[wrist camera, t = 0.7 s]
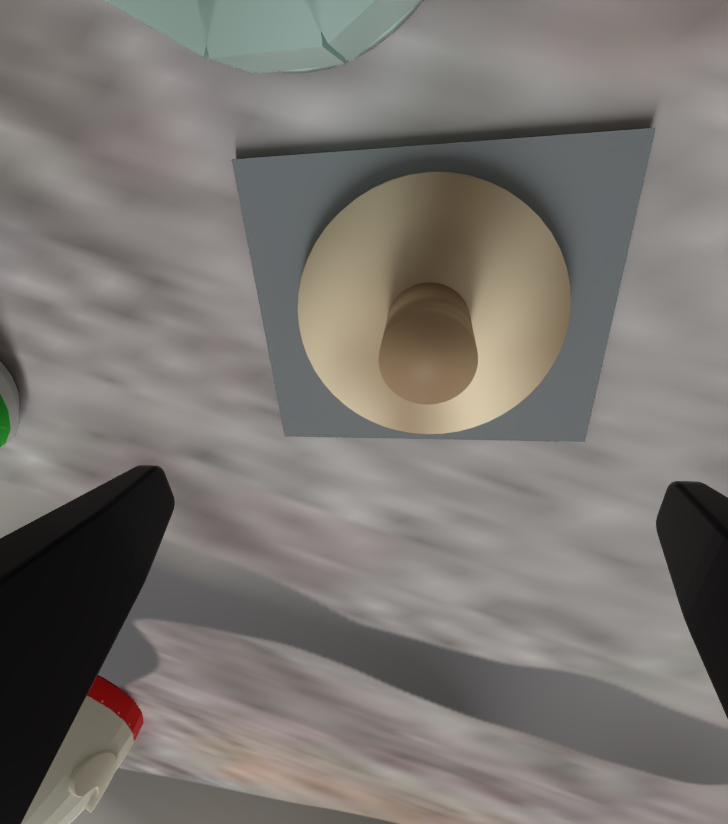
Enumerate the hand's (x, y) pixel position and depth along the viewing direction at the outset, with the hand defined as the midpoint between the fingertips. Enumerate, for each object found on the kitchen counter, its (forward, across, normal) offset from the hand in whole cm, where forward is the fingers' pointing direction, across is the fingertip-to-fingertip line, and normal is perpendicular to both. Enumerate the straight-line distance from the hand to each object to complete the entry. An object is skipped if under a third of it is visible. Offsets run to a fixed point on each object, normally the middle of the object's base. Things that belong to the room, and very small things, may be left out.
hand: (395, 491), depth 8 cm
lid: (+12, 0, +1) cm, 12 cm away
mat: (+12, 0, +1) cm, 12 cm away
